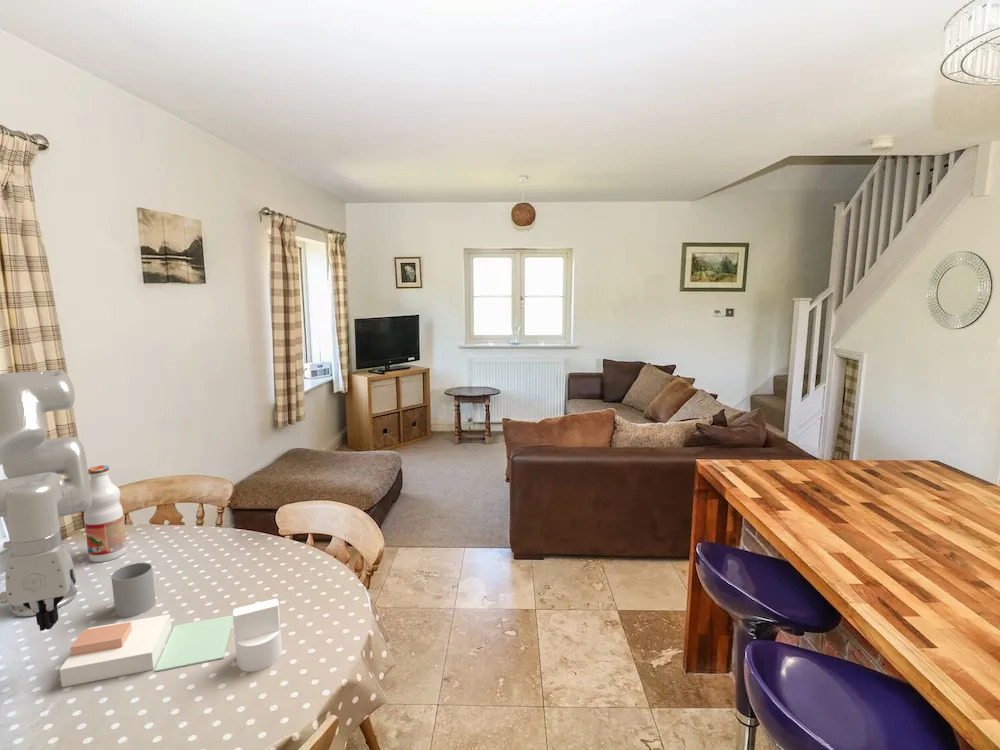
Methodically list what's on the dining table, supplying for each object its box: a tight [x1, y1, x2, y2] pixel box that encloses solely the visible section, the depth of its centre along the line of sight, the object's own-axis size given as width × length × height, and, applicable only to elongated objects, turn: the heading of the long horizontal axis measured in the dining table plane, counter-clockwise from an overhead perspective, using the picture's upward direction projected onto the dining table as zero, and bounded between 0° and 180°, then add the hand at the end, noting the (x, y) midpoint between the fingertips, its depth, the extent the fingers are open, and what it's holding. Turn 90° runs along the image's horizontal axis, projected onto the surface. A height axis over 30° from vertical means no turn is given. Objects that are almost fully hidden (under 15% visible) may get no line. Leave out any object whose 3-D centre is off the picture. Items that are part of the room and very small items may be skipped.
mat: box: [154, 614, 234, 673], centre depth 118 cm, size 13×16×1 cm
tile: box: [70, 622, 132, 656], centre depth 111 cm, size 9×6×2 cm, turn 109°
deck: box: [59, 613, 173, 688], centre depth 113 cm, size 16×14×4 cm
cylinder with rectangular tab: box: [232, 598, 283, 673], centre depth 112 cm, size 9×9×12 cm
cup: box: [110, 562, 157, 619], centre depth 130 cm, size 8×8×10 cm
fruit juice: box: [83, 465, 128, 563], centre depth 155 cm, size 9×9×28 cm
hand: (48, 626), depth 107 cm, fingers closed
